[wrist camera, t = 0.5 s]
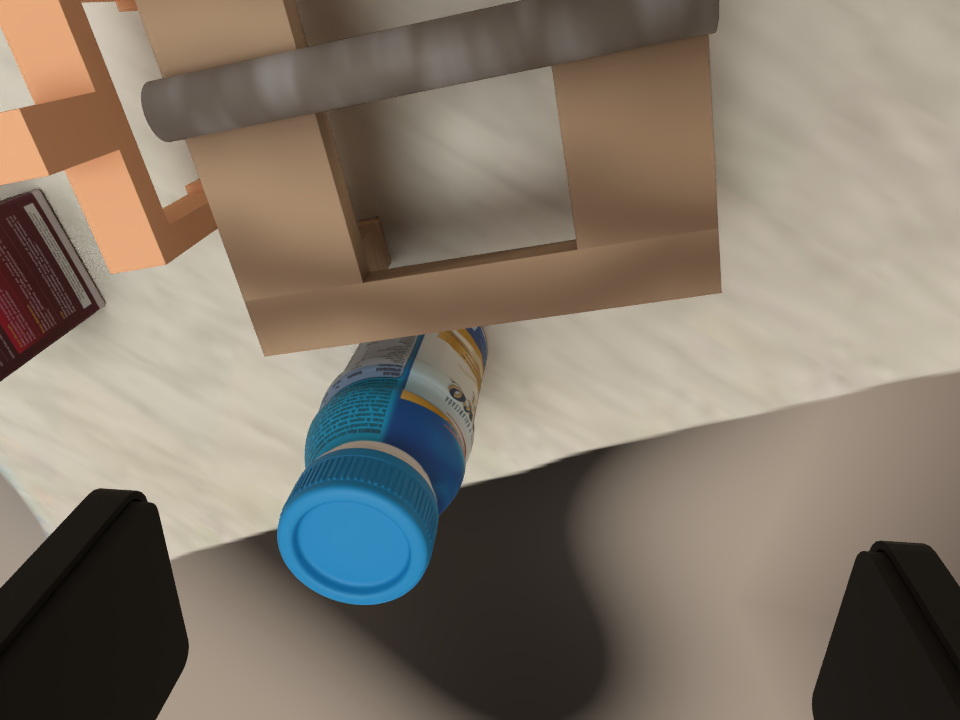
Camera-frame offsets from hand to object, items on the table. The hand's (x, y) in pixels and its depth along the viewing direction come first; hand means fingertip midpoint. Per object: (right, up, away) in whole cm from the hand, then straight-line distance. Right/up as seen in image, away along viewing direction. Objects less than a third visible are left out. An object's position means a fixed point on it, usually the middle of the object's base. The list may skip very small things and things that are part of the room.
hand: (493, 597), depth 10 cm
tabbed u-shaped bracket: (-17, +19, +32) cm, 41 cm away
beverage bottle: (-4, +4, +39) cm, 39 cm away
